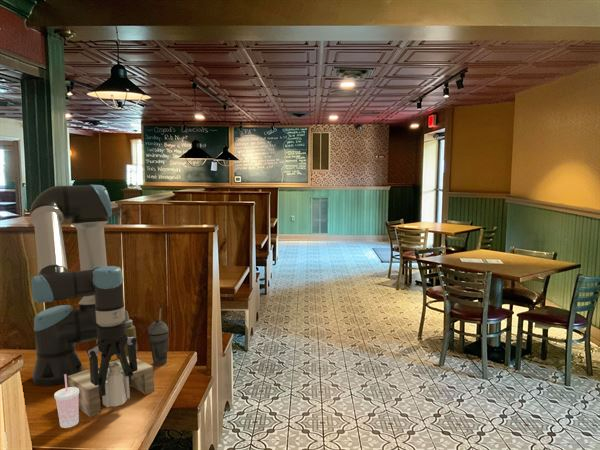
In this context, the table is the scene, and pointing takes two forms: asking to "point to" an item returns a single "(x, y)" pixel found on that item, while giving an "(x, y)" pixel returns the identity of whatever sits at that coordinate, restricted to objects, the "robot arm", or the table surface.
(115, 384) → the pepper shaker
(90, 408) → the cut-out shelf
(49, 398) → the table surface
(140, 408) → the table surface
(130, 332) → the squeeze bottle
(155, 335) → the beverage cup
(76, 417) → the beverage cup
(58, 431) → the table surface
